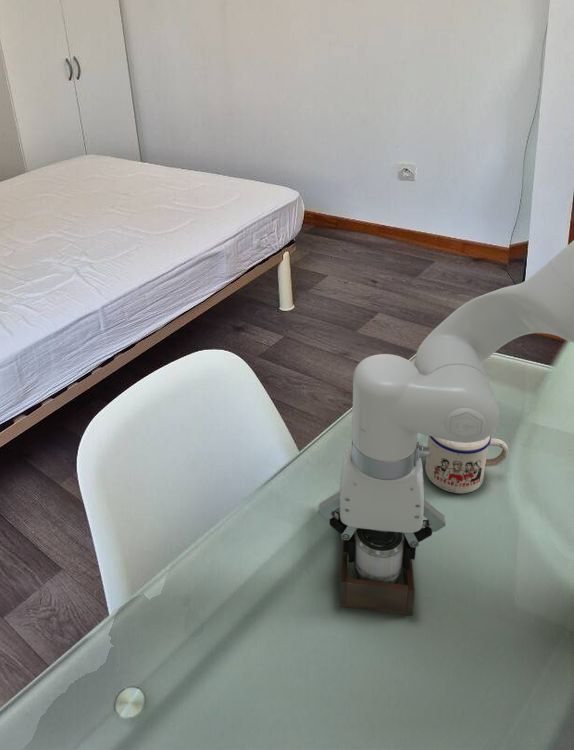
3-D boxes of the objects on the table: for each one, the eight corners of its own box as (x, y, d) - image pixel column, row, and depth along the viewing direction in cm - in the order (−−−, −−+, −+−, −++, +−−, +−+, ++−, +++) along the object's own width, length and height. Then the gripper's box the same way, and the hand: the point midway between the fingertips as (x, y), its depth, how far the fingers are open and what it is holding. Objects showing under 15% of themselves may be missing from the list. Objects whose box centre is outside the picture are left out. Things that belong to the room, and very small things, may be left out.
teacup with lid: (427, 493, 105) (433, 434, 100) (420, 452, 113) (425, 395, 108) (510, 499, 103) (521, 438, 98) (497, 457, 111) (506, 399, 106)
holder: (404, 511, 103) (406, 488, 101) (412, 615, 87) (414, 591, 85) (342, 505, 105) (342, 482, 103) (339, 606, 89) (340, 582, 87)
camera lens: (400, 597, 88) (403, 554, 85) (350, 587, 90) (351, 544, 86) (403, 558, 93) (406, 515, 90) (355, 549, 95) (357, 507, 92)
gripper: (455, 436, 84) (444, 541, 92) (312, 426, 88) (313, 528, 95) (463, 480, 77) (450, 590, 85) (308, 467, 81) (309, 573, 89)
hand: (378, 556), depth 90 cm, fingers closed on camera lens, 6 cm apart
